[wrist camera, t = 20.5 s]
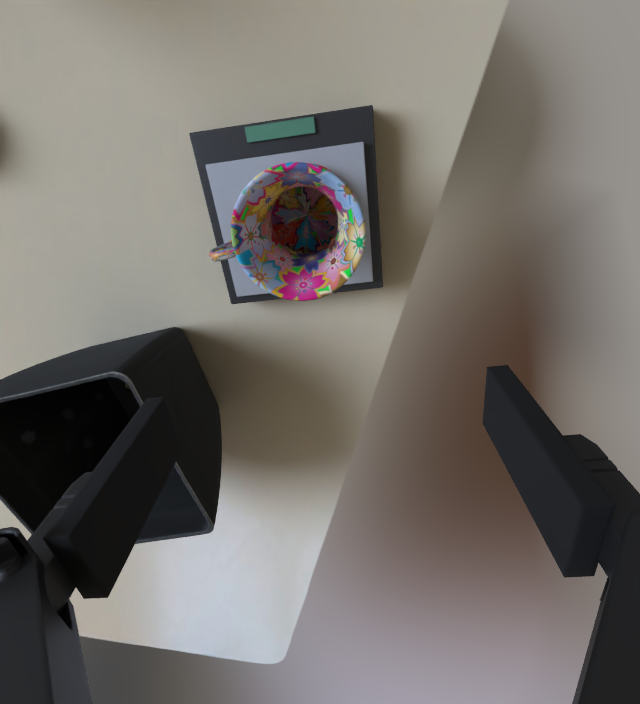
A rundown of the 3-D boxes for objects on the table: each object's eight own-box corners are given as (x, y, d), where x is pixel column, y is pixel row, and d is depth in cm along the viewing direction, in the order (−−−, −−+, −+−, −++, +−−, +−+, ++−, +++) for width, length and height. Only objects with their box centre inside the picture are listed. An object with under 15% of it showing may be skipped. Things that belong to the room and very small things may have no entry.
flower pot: (125, 449, 56) (48, 560, 41) (49, 331, 47) (-82, 417, 32) (250, 424, 53) (217, 533, 38) (194, 294, 44) (123, 369, 29)
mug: (343, 143, 33) (347, 142, 24) (367, 248, 38) (378, 283, 28) (214, 184, 35) (171, 198, 26) (251, 280, 39) (224, 323, 30)
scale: (369, 107, 35) (373, 104, 32) (379, 278, 43) (383, 290, 39) (199, 134, 37) (185, 132, 34) (237, 294, 44) (229, 307, 41)
